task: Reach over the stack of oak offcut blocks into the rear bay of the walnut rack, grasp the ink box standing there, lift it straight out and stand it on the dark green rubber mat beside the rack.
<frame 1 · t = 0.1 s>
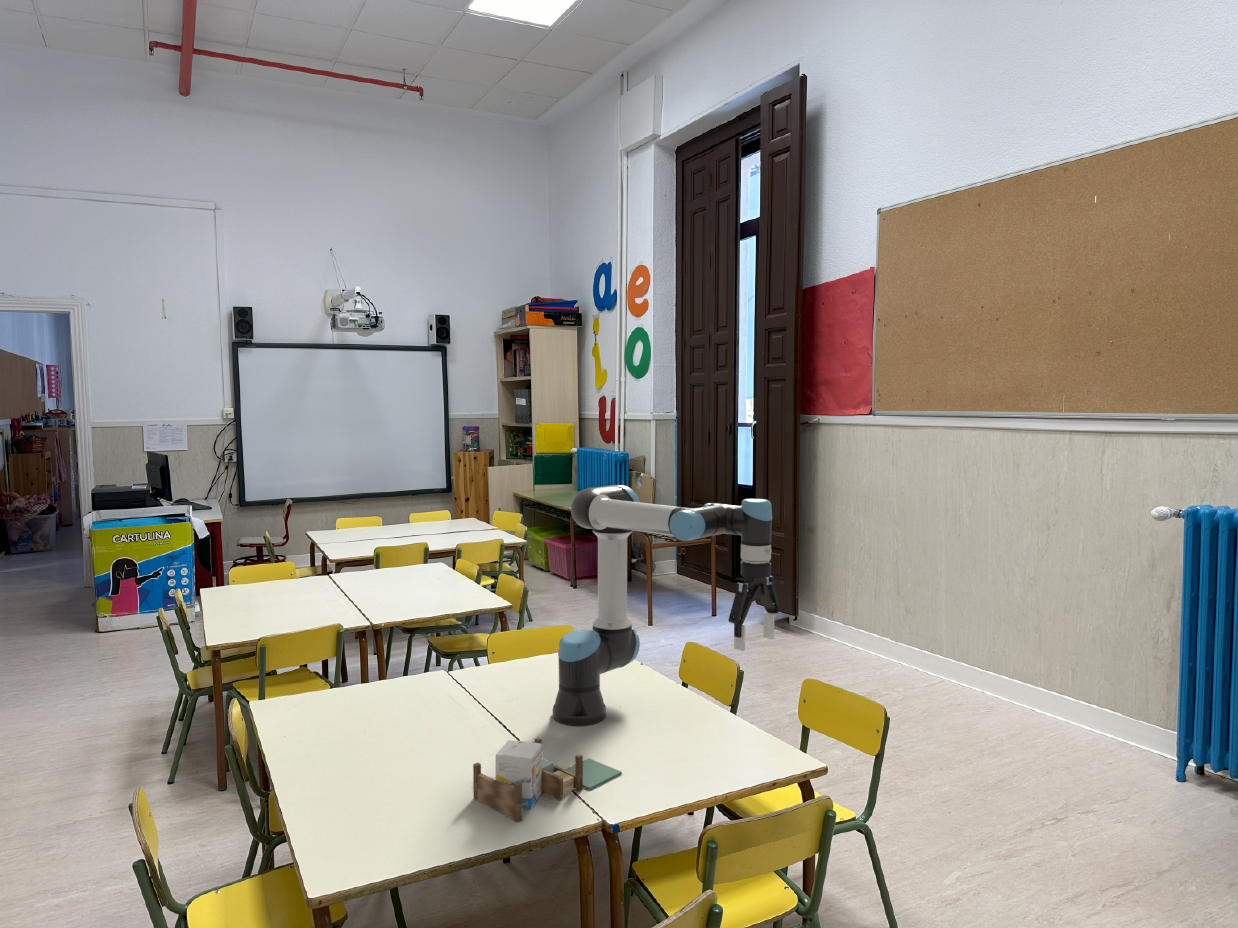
hand: (754, 643, 204), 28 cm above the table, fingers open, 13 cm apart
offcut b: (539, 772, 189), point 2 cm above the table, touching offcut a
ink box: (519, 799, 180), on the table
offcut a: (539, 782, 189), on the table, touching offcut b
offcut c: (559, 790, 185), on the table
mat: (589, 774, 192), on the table
rack: (529, 793, 182), on the table
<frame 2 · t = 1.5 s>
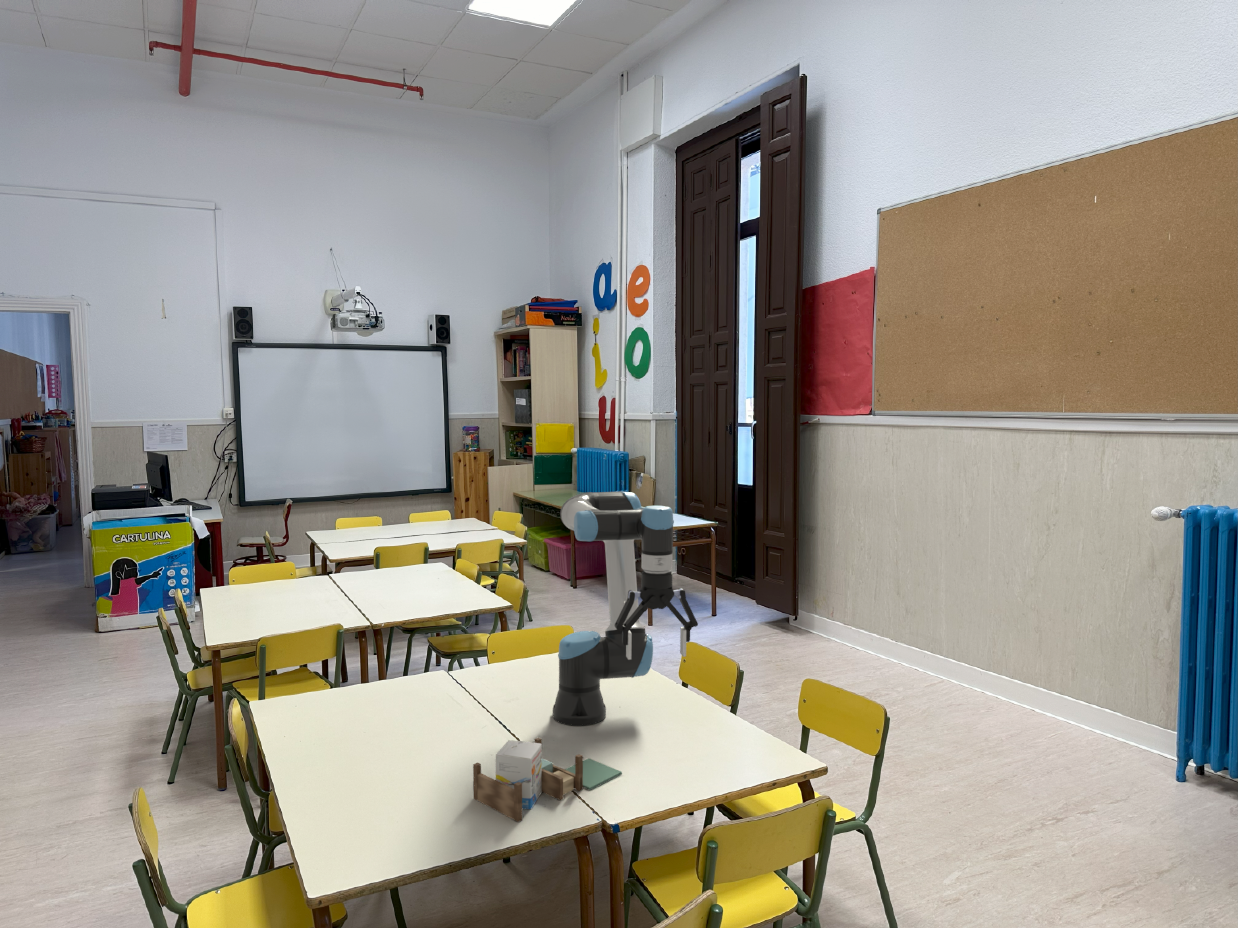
hand: (656, 656, 196), 27 cm above the table, fingers open, 13 cm apart
nothing on the table moved.
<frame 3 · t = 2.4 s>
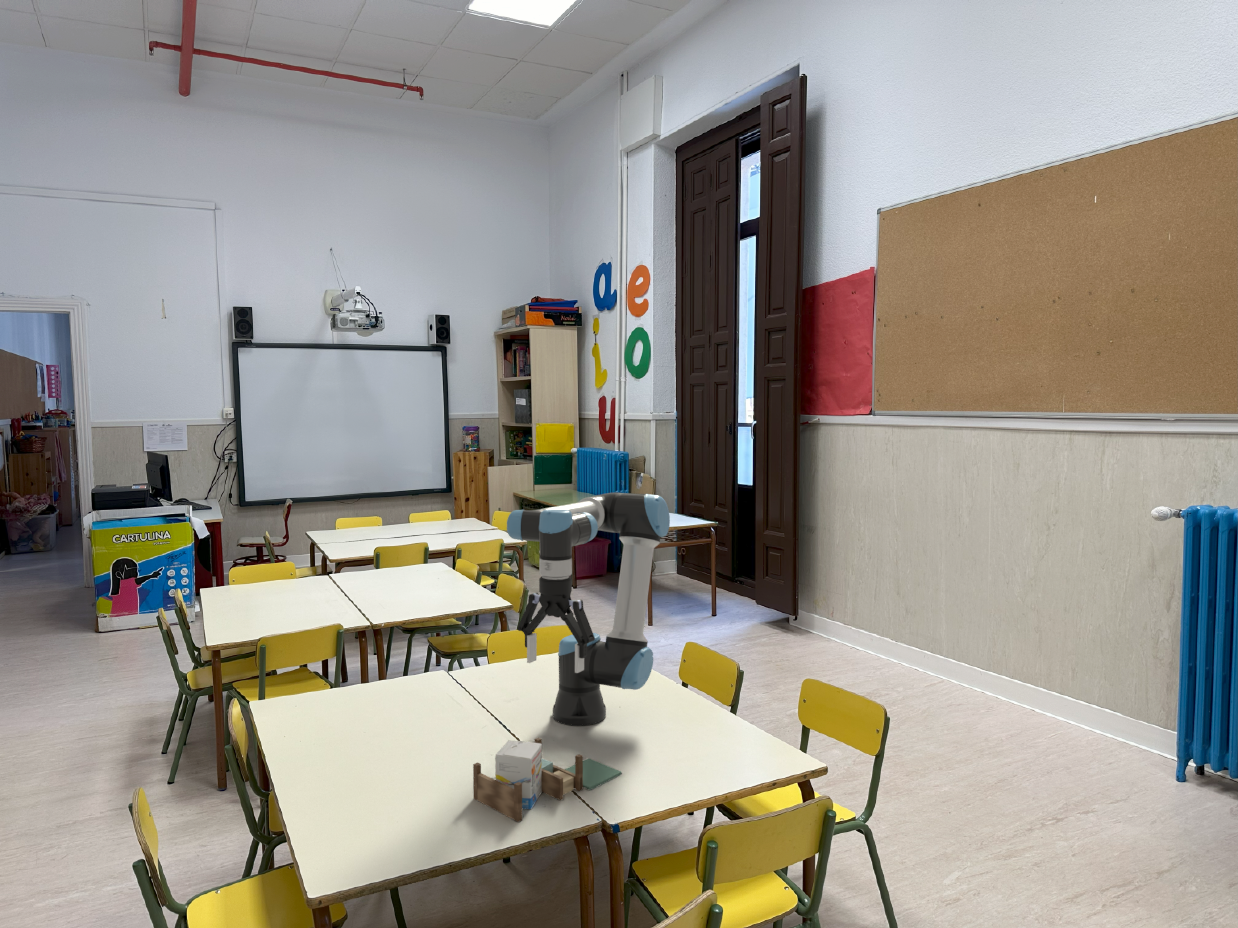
hand: (555, 666, 187), 27 cm above the table, fingers open, 13 cm apart
offcut b: (538, 772, 189), point 2 cm above the table
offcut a: (539, 782, 189), on the table
everything else where it was.
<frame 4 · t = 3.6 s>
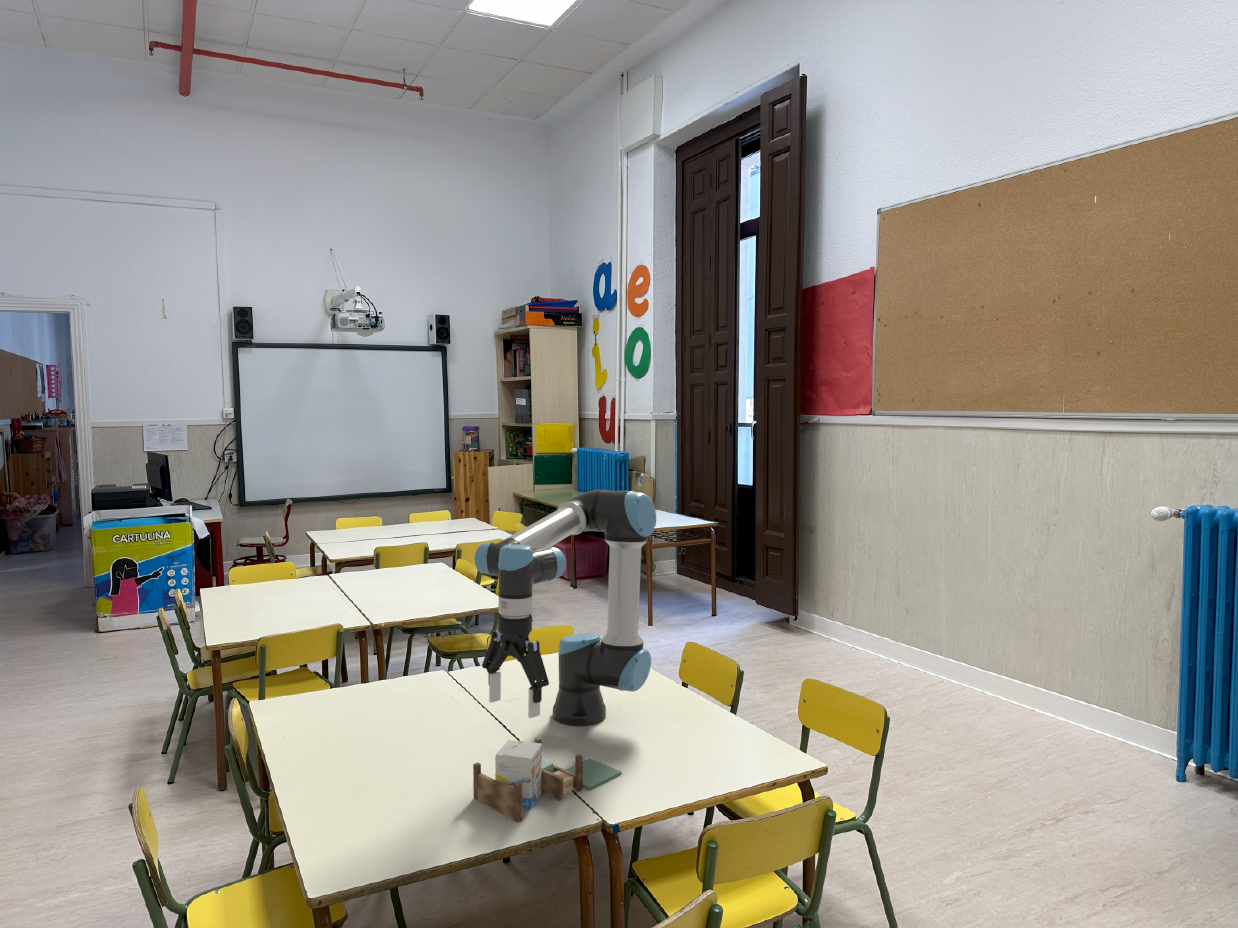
hand: (514, 708, 180), 20 cm above the table, fingers open, 13 cm apart
nothing on the table moved.
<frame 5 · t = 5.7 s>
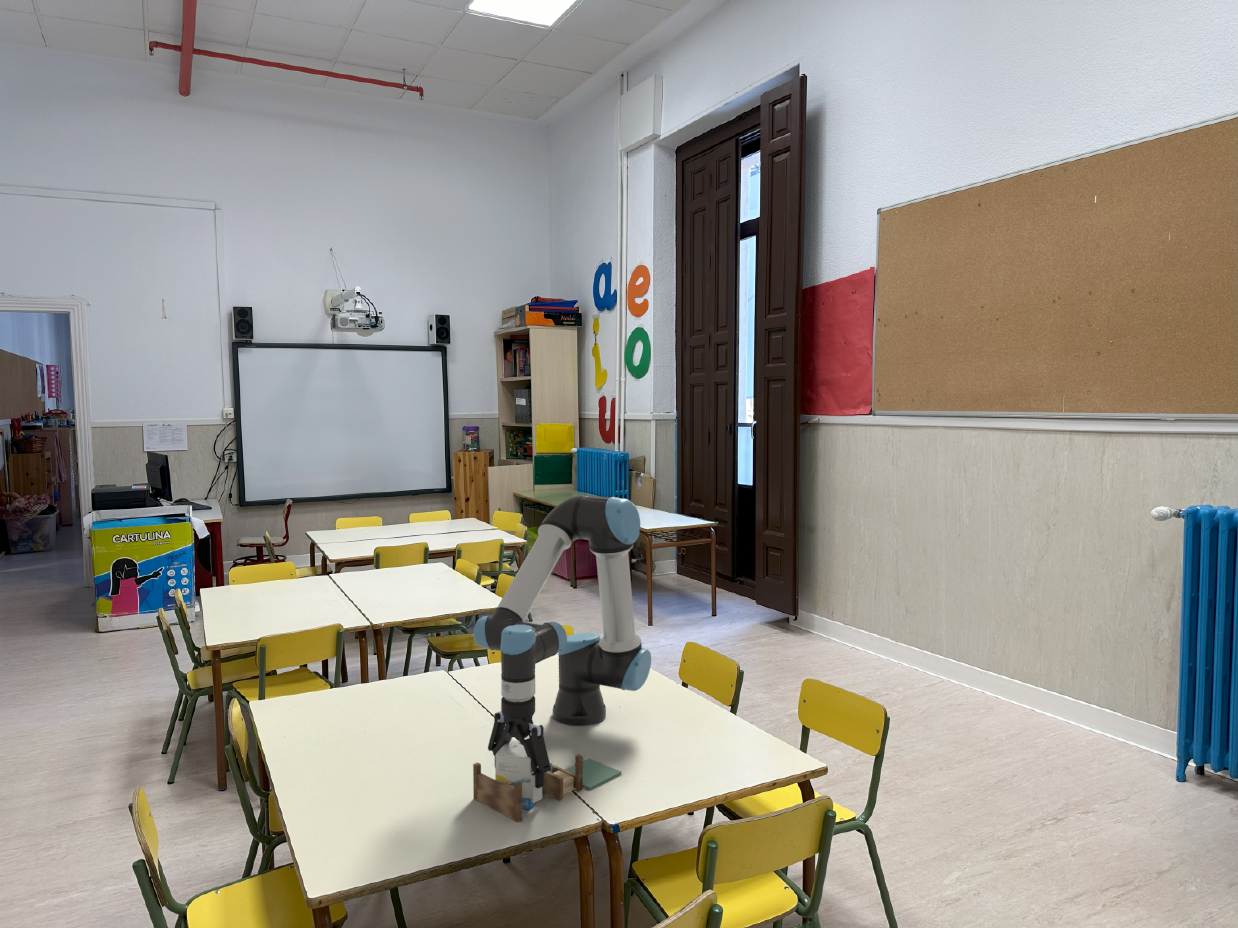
hand: (518, 791, 180), 2 cm above the table, fingers closed on ink box, 11 cm apart
offcut b: (538, 772, 189), point 2 cm above the table, touching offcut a
ink box: (519, 799, 180), on the table, touching gripper
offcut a: (538, 782, 189), on the table, touching offcut b
everything else where it was.
when the fingers open (4 cm above the table, at t = 12.1 s): ink box drops 1 cm, resting on mat.
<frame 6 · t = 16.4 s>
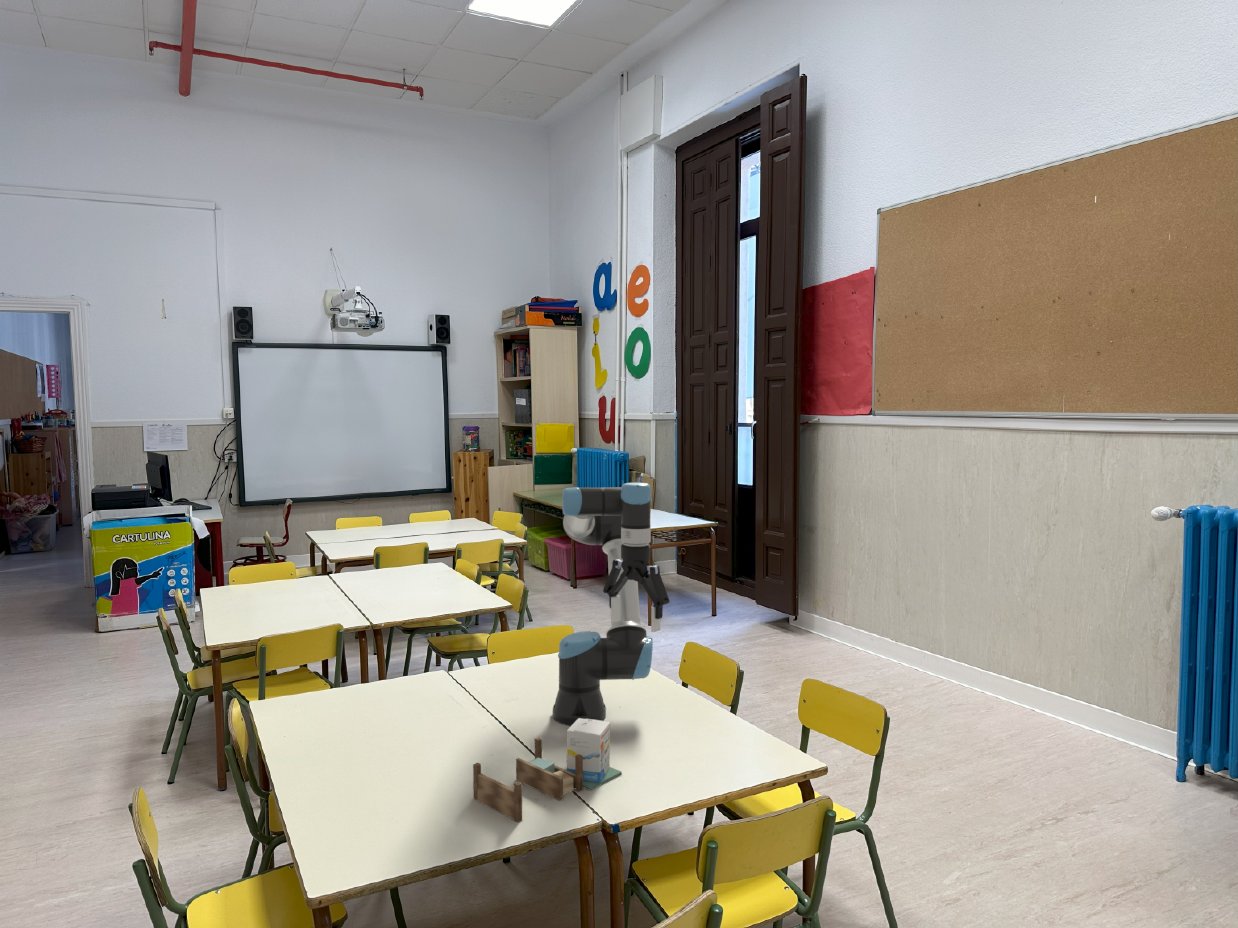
hand: (635, 625, 206), 32 cm above the table, fingers open, 13 cm apart
ink box: (588, 773, 191), resting on mat
everything else where it was.
at the end: ink box inside the target area (0.4 cm from its centre), resting on mat; ink box tilted 0°; the gripper is holding nothing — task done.
